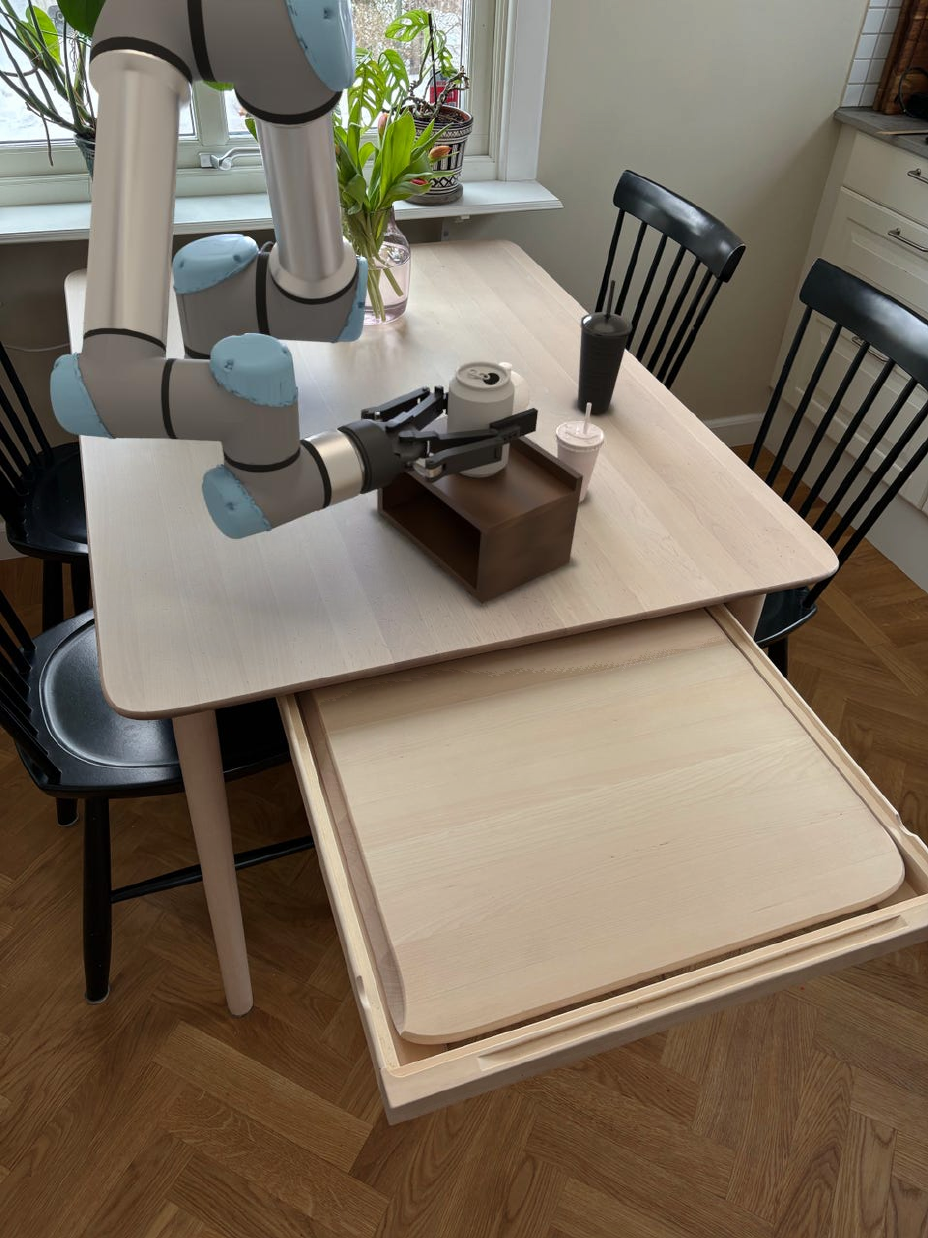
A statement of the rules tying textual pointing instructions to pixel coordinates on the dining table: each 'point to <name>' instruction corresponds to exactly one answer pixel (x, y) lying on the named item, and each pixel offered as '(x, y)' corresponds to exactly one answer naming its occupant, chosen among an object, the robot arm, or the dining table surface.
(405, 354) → the dining table surface
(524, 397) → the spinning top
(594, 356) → the drinking cup
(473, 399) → the can
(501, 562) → the shelf
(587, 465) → the smoothie
